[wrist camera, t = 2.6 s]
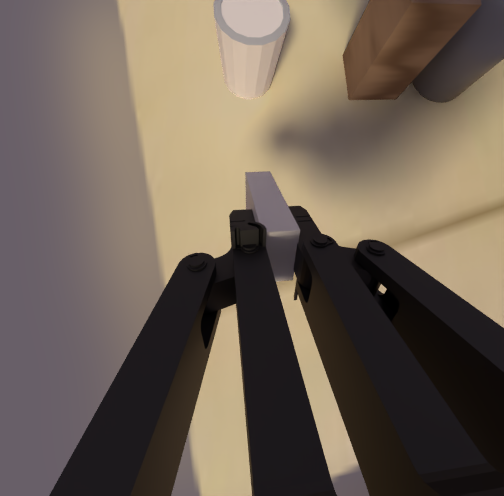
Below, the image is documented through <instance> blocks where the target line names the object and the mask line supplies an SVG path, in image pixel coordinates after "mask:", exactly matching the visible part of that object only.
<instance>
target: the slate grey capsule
mask: <svg viewBox="0 0 504 496" xmlns="http://www.w3.org/2000/svg"><path fill="white" fill-rule="evenodd" d="M481 4H482V5H481V6H480V7H479V8H478V9H477V10H476V12H475V13H474V14H473V15H472V16H471V17H470V18H469V19H468V20H467V21H466V23H465V24H464V25H463V26H462V27H461V28H460V29H459V30H458V31H457V32H456V34H455V35H454V36H453V37H452V38H451V39H450V40H449V41H448V42H447V43H446V45H445V46H444V47H443V48H442V49H441V50H440V51H439V52H438V53H437V54H436V56H435V57H434V58H433V59H432V60H431V61H430V62H429V63H428V64H427V65H426V67H425V68H424V69H423V70H422V71H421V72H420V73H419V74H418V75H417V76H416V78H415V79H414V80H413V81H412V83H413V85H414V87H415V88H416V90H417V91H418V92H419V93H420V94H421V95H422V96H423V97H425V98H427V99H428V100H431V101H434V102H441V103H442V102H448V101H451V100H453V99H454V98H456V97H457V96H458V95H460V94H461V93H462V92H463V91H464V90H466V89H467V88H468V87H469V86H471V85H472V84H473V83H474V82H476V81H477V80H478V79H479V78H480V77H482V76H483V75H484V74H485V73H487V72H488V71H489V70H490V69H492V68H493V67H494V66H495V65H496V64H498V63H499V62H500V61H501V60H503V59H504V0H481Z"/></svg>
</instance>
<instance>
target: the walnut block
mask: <svg viewBox="0 0 504 496" xmlns="http://www.w3.org/2000/svg"><path fill="white" fill-rule="evenodd" d="M481 5H482V4H481V0H370V1H369V3H368V5H367V7H366V9H365V11H364V13H363V15H362V17H361V19H360V21H359V24H358V26H357V28H356V30H355V32H354V34H353V36H352V38H351V40H350V42H349V44H348V46H347V48H346V50H345V52H344V54H343V61H344V68H345V75H346V83H347V90H348V98H349V100H385V99H396V98H397V97H398V96H399V95H400V94H401V93H402V92H403V91H404V90H405V89H406V87H407V86H408V85H409V84H410V83H411V82H412V81H413V80H414V79H415V78H416V76H417V75H418V74H419V73H420V72H421V71H422V70H423V69H424V68H425V67H426V65H427V64H428V63H429V62H430V61H431V60H432V59H433V58H434V57H435V56H436V54H437V53H438V52H439V51H440V50H441V49H442V48H443V47H444V46H445V45H446V43H447V42H448V41H449V40H450V39H451V38H452V37H453V36H454V35H455V34H456V32H457V31H458V30H459V29H460V28H461V27H462V26H463V25H464V24H465V23H466V21H467V20H468V19H469V18H470V17H471V16H472V15H473V14H474V13H475V12H476V10H477V9H478V8H479V7H480V6H481Z"/></svg>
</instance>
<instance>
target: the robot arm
mask: <svg viewBox="0 0 504 496" xmlns="http://www.w3.org/2000/svg"><path fill="white" fill-rule="evenodd" d="M245 175H246V210H233V211H232V212H231V214H230V215H229V217H230V232H231V245H232V247H231V249H230V251H229V252H228V253H226V254H225V255H223V256H220V257H218V258H213V257H212V256H211V255H209V254H206V253H194V254H191V255H188V256H186V257H185V258H183V259H182V260H181V261H180V262H179V264H178V266H177V268H176V269H175V271H174V273H173V275H172V277H171V278H170V280H169V282H168V284H167V286H166V287H165V289H164V291H163V293H162V295H161V296H160V298H159V300H158V302H157V304H156V305H155V307H154V309H153V311H152V312H151V314H150V316H149V318H148V320H147V321H146V323H145V325H144V327H143V329H142V331H141V332H140V334H139V336H138V338H137V339H136V341H135V343H134V345H133V347H132V348H131V350H130V352H129V354H128V355H127V357H126V359H125V361H124V363H123V364H122V366H121V368H120V370H119V372H118V373H117V375H116V377H115V379H114V381H113V382H112V384H111V386H110V388H109V390H108V391H107V393H106V395H105V397H104V398H103V400H102V402H101V404H100V406H99V407H98V409H97V411H96V413H95V415H94V417H93V418H92V420H91V422H90V424H89V425H88V427H87V429H86V431H85V433H84V434H83V436H82V438H81V440H80V442H79V443H78V445H77V447H76V449H75V450H74V452H73V454H72V456H71V458H70V459H69V461H68V463H67V465H66V467H65V468H64V470H63V472H62V474H61V476H60V478H59V479H58V481H57V483H56V485H55V486H54V489H53V490H52V492H51V494H50V496H171V493H172V490H173V486H174V483H175V479H176V475H177V472H178V468H179V464H180V460H181V457H182V453H183V449H184V445H185V442H186V438H187V435H188V431H189V427H190V424H191V420H192V416H193V413H194V409H195V405H196V402H197V398H198V394H199V391H200V387H201V383H202V380H203V376H204V372H205V369H206V365H207V361H208V358H209V354H210V350H211V347H212V343H213V339H214V336H215V332H216V328H217V325H218V321H219V317H220V314H221V309H223V308H226V307H228V306H231V305H233V304H236V308H237V320H238V332H239V344H240V356H241V367H242V379H243V391H244V403H245V415H246V427H247V439H248V451H249V463H250V474H251V486H252V496H337V495H336V492H335V490H334V487H333V484H332V481H331V477H330V474H329V470H328V467H327V463H326V460H325V456H324V452H323V449H322V445H321V442H320V438H319V434H318V431H317V427H316V424H315V420H314V417H313V413H312V409H311V406H310V402H309V399H308V395H307V392H306V388H305V384H304V381H303V377H302V374H301V370H300V367H299V363H298V359H297V356H296V352H295V349H294V345H293V342H292V338H291V334H290V331H289V327H288V324H287V320H286V317H285V313H284V309H283V306H282V302H281V299H280V295H279V292H278V288H277V284H276V281H288V280H293V275H294V272H295V275H296V277H297V281H296V287H295V293H294V300H297V295H299V298H300V301H301V304H302V307H303V309H304V312H305V315H306V318H307V321H308V323H309V326H310V329H311V332H312V335H313V337H314V340H315V343H316V346H317V349H318V351H319V354H320V357H321V360H322V363H323V365H324V368H325V371H326V374H327V377H328V379H329V382H330V385H331V388H332V391H333V393H334V396H335V399H336V402H337V405H338V407H339V410H340V413H341V416H342V419H343V422H344V424H345V427H346V430H347V433H348V436H349V438H350V441H351V444H352V447H353V450H354V452H355V455H356V458H357V461H358V464H359V466H360V469H361V472H362V475H363V478H364V480H365V483H366V486H367V489H368V492H369V495H370V496H504V328H503V327H501V326H500V325H499V324H497V323H496V322H494V321H493V320H492V319H490V318H489V317H487V316H486V315H485V314H483V313H482V312H480V311H479V310H478V309H476V308H475V307H474V306H472V305H471V304H469V303H468V302H467V301H465V300H464V299H462V298H461V297H460V296H458V295H457V294H455V293H454V292H453V291H451V290H450V289H448V288H447V287H446V286H444V285H443V284H441V283H440V282H439V281H437V280H436V279H434V278H433V277H432V276H430V275H429V274H428V273H426V272H425V271H423V270H422V269H421V268H419V267H418V266H416V265H415V264H414V263H412V262H411V261H409V260H408V259H407V258H405V257H404V256H402V255H401V254H400V253H398V252H397V251H395V250H394V249H393V248H391V247H390V246H388V245H387V244H385V243H383V242H380V241H377V240H363V241H361V242H359V244H358V245H357V248H356V249H355V248H347V247H341V246H338V244H337V243H336V241H335V240H334V239H333V238H331V237H329V236H327V235H324V234H321V232H320V231H319V229H318V228H317V226H316V224H315V223H314V221H313V220H312V218H311V217H310V215H309V213H308V212H307V210H305V209H304V208H302V207H301V206H288V205H287V203H286V201H285V200H284V198H283V196H282V194H281V192H280V190H279V188H278V186H277V184H276V182H275V180H274V178H273V176H272V174H271V173H270V171H267V172H245ZM381 284H382V285H383V286H384V287H385V288H387V290H386V292H385V294H383V293H381V292H380V291H379V290H378V289H379V287H380V285H381Z"/></svg>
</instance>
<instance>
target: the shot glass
mask: <svg viewBox="0 0 504 496" xmlns="http://www.w3.org/2000/svg"><path fill="white" fill-rule="evenodd" d="M214 18H215V25H216V31H217V37H218V43H219V50H220V56H221V62H222V69H223V75H224V81H225V83H226V85H227V87H228V89H229V90H230V91H231V92H232V93H233V94H234V95H235V96H238V97H241V98H243V99H255V98H258V97H261V96H263V95H264V94H265V93H266V92H267V91H268V90H269V87H270V85H271V82H272V79H273V75H274V72H275V69H276V65H277V62H278V59H279V55H280V52H281V49H282V45H283V42H284V39H285V35H286V32H287V29H288V25H289V22H290V9H289V5H288V3H287V1H286V0H215V1H214Z"/></svg>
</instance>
